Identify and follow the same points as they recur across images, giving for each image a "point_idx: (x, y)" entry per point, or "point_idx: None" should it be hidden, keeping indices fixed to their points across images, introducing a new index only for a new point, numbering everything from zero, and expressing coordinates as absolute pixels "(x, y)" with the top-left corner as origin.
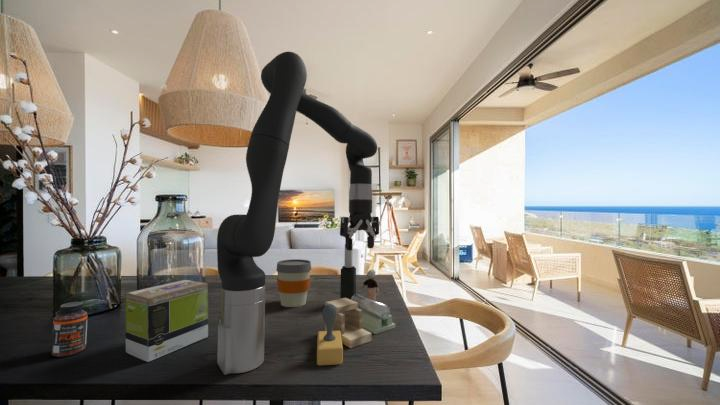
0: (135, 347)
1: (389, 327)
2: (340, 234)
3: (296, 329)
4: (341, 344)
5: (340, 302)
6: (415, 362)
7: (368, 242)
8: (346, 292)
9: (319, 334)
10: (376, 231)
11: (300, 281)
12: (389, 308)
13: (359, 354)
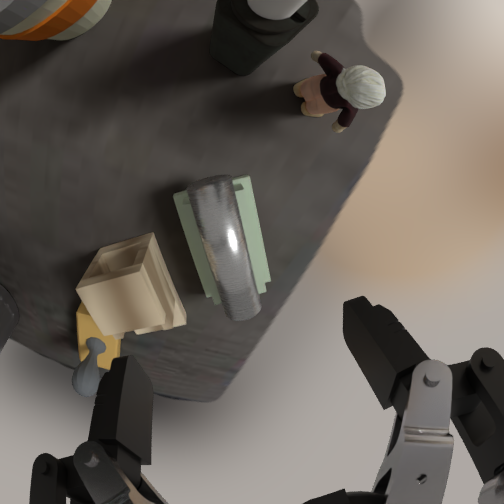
0: None
1: None
2: (41, 468)
3: (44, 210)
4: None
5: (116, 306)
6: (221, 376)
7: (365, 343)
8: (228, 56)
9: (79, 327)
10: (454, 423)
11: (36, 29)
12: (260, 308)
13: (149, 343)
